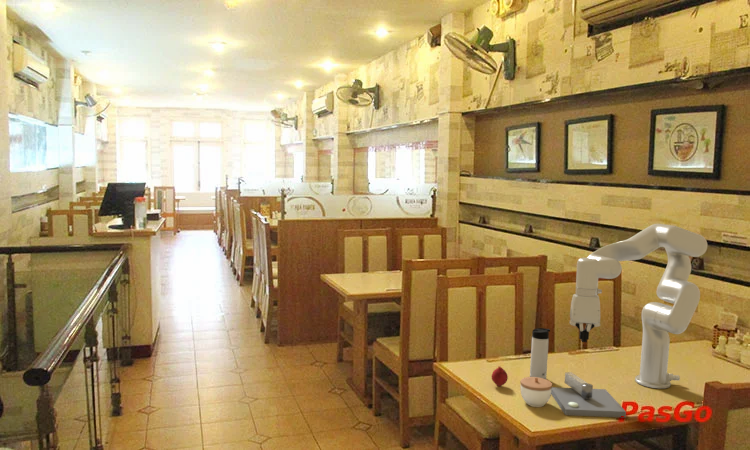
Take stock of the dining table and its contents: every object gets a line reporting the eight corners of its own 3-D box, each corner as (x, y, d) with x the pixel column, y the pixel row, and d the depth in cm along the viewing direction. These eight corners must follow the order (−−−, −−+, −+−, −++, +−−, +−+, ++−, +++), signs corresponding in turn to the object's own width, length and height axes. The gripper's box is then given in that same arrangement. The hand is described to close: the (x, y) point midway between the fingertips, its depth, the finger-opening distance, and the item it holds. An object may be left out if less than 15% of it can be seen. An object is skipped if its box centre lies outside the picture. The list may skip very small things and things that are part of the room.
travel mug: (547, 382, 235) (550, 331, 232) (530, 380, 236) (532, 330, 234) (546, 376, 241) (549, 327, 239) (529, 375, 242) (532, 326, 240)
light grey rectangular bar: (593, 400, 213) (594, 386, 212) (584, 400, 212) (585, 387, 211) (571, 384, 227) (572, 372, 226) (562, 385, 226) (563, 372, 226)
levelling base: (605, 394, 224) (605, 387, 224) (625, 417, 204) (626, 409, 204) (550, 392, 224) (550, 385, 224) (565, 415, 204) (565, 407, 204)
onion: (507, 385, 231) (508, 364, 230) (505, 390, 225) (507, 369, 224) (492, 382, 233) (493, 362, 232) (490, 388, 227) (491, 367, 226)
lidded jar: (542, 412, 206) (544, 385, 205) (513, 403, 213) (515, 377, 212) (556, 403, 214) (557, 377, 213) (528, 395, 221) (529, 370, 220)
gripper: (605, 290, 224) (603, 339, 226) (563, 288, 227) (561, 337, 229) (610, 295, 217) (607, 345, 219) (566, 293, 219) (564, 342, 221)
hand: (583, 341), depth 224 cm, fingers closed
